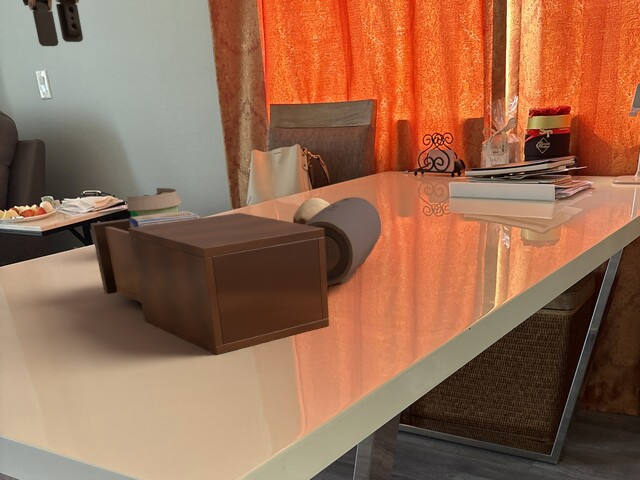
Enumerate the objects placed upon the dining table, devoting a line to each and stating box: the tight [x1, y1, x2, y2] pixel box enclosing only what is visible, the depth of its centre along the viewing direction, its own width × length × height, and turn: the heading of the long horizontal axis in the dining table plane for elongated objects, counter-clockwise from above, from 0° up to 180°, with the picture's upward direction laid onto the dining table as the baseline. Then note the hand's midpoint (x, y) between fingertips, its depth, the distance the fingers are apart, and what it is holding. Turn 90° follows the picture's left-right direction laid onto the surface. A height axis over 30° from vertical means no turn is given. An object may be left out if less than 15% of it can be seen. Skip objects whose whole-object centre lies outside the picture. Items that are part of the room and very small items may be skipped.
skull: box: [292, 197, 331, 225], centre depth 127 cm, size 12×10×10 cm
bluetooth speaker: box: [304, 196, 382, 286], centre depth 102 cm, size 23×9×10 cm, turn 169°
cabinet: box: [128, 212, 330, 355], centre depth 82 cm, size 18×15×11 cm
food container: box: [126, 187, 182, 217], centre depth 122 cm, size 12×6×10 cm, turn 170°
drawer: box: [90, 218, 141, 303], centre depth 93 cm, size 21×14×9 cm, turn 39°
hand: (61, 44), depth 87 cm, fingers open, 8 cm apart
